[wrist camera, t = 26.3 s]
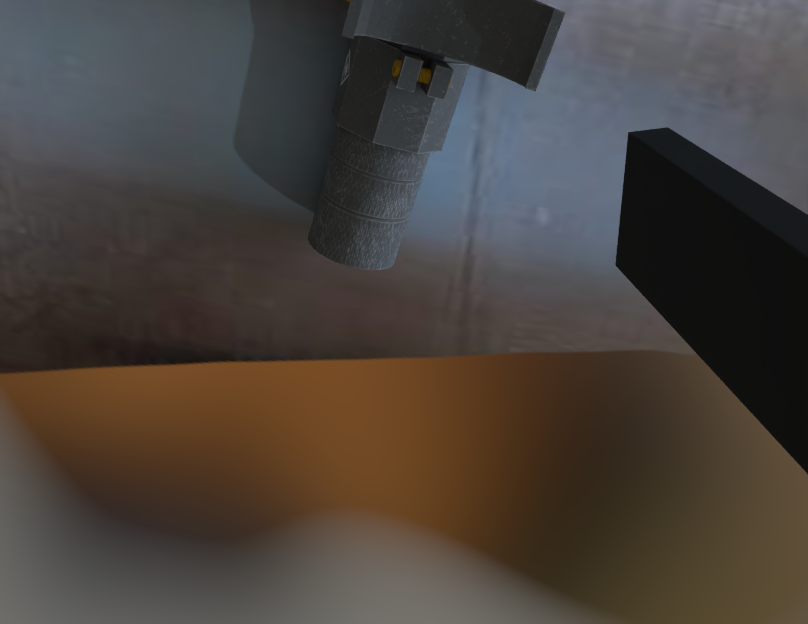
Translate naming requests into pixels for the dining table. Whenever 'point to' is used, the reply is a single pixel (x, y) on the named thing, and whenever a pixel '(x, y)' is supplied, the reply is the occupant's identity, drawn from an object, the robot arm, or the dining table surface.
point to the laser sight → (411, 107)
